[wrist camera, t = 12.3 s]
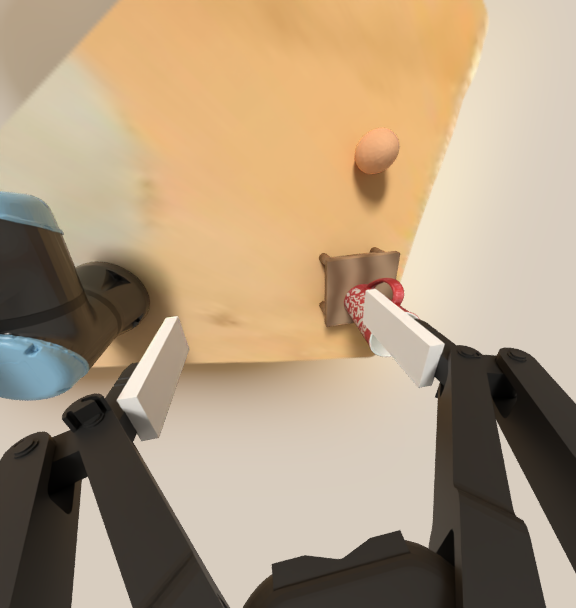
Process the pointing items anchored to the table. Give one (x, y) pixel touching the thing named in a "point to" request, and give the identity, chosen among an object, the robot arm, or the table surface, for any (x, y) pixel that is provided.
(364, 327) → the mug
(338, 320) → the stool
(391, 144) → the egg
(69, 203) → the table surface
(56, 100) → the table surface
